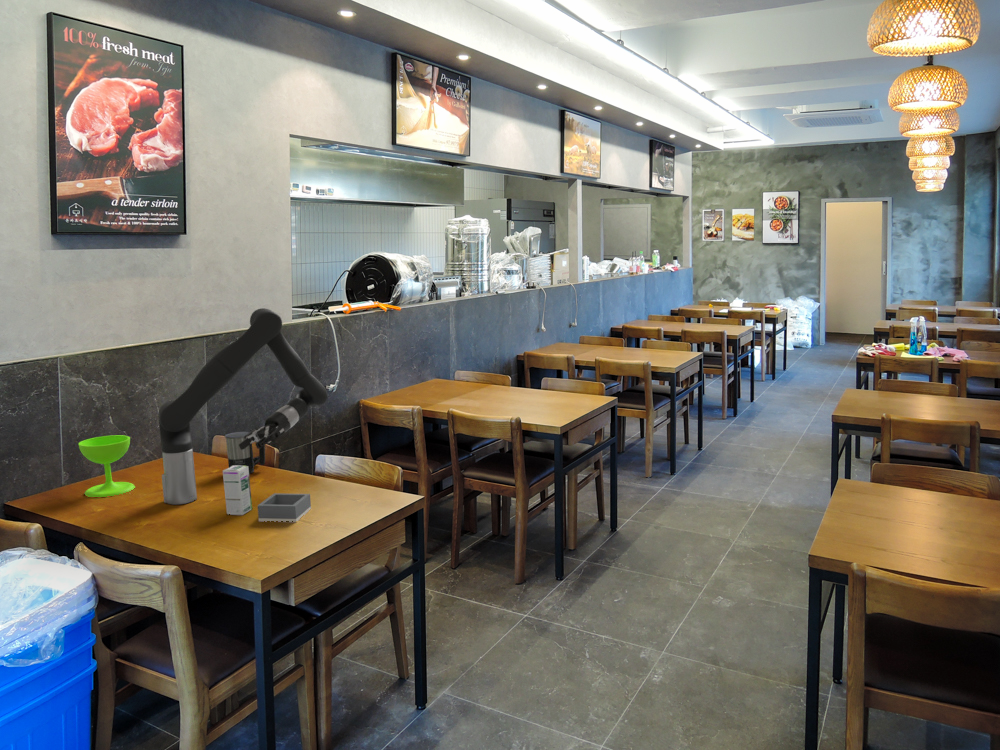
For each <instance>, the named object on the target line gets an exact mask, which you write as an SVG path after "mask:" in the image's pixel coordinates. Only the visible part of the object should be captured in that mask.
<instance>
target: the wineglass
mask: <svg viewBox="0 0 1000 750" xmlns="http://www.w3.org/2000/svg"><path fill="white" fill-rule="evenodd" d="M130 444H131V437H130V436H128V435H122V434H121V435H120V434H119V435H117V434H114V435H103V436H96V437H92V438H91V437H90V438H87V439H84V440H81V441H79V442H78V448H79V451H80V452H81V454H82V456H83V457H85V458H86V459H87V460H88V461H90V462H93V463H94V464H100V465H103V466H104V475H105V482H104V483H102V484H97V485H94V486H92V487H89V488H88V489H86V490H85V491H84V494H85V495H86V496H88V497H107V496H114V495H119V494H122V495H124V494H123V493H126V492H129V491H131V490H133V489H134V488H135V489H136V486H135V484H134V483H131V482H128V481H113V478H112V467H111V464H112V463H114V462H117V461H119V460H120V459H121V458H123V457H124V456H125V455H126V453H127V452H128V450H129V447H130ZM135 489H134V490H135ZM134 490H133V491H134ZM131 492H132V491H131ZM129 493H130V492H129ZM126 494H127V493H126ZM119 496H120V495H119ZM88 497H87V498H88ZM114 497H115V496H114ZM107 498H108V497H107Z"/></svg>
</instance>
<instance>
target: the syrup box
mask: <svg viewBox="0 0 1000 750" xmlns="http://www.w3.org/2000/svg"><path fill="white" fill-rule="evenodd" d="M222 477H223V488H224V497H225V506H226V507H225V508H226V514H227V515H229V514H230V515H232V516H244V515H245V514H247V513H248V512H250V511H252V510H253V502H252V492H251V481H250V480H251V479H250V474H249V468H248V466H244V465H235V466H232V467H230V468H229V467H228V468H225V469H223V470H222Z"/></svg>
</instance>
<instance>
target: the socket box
mask: <svg viewBox="0 0 1000 750" xmlns="http://www.w3.org/2000/svg"><path fill="white" fill-rule="evenodd" d="M310 509H312V505H311V493H279V492H278V493H275V492H274V493H273V494H271V495H270V496H269V497H267V498H266V499H264V500H263V501H261V502H260V503H259V504H258V505H257V515H258V522H264V521H265V523H267V521H270V523H272V522H271V521H274V522H275V523H276V521H278V522H277V523H287V522H286V521H289V522H288V523H297V522H298V521H300V520H301V519H302V518H303V517H304V516H305V515H306V514H308V513H309V512H310V511H311V510H310ZM309 510H310V511H309ZM303 515H304V516H303ZM302 516H303V517H302ZM301 517H302V518H301ZM300 518H301V519H300ZM281 521H283V522H281ZM292 521H293V522H292ZM296 521H297V522H296Z"/></svg>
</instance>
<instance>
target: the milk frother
mask: <svg viewBox="0 0 1000 750" xmlns="http://www.w3.org/2000/svg"><path fill="white" fill-rule="evenodd" d="M249 432H250V431H236V432H231V433H230V432H229V433H228V434H225V436H224V438H225V442H226V450H227V451H226V453H227V462H228V468H230V467H232V466H235V465H244V466H248V468H249V475H250V474H252V473H254V472H255V466H256V465H257V464H260V465H259V466H264V465H265V464H266V445H264V446H263V447H262V448H261V449H258V450H259V451H258V452H259V453H258V454H259V455H257V456H254V452H253V443H251V444H250V445H249V446H247V447H246V448H245V449H243V450H241V449H240V447H239V444H240V443H241V442H242V441H244V440H245V438H244V436H245V435H247V434H248V433H249ZM257 438H258V439H259V437H258V436H257ZM250 439H251V438H250ZM253 440H254V439H253ZM256 443H257V442H255V444H256Z"/></svg>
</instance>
